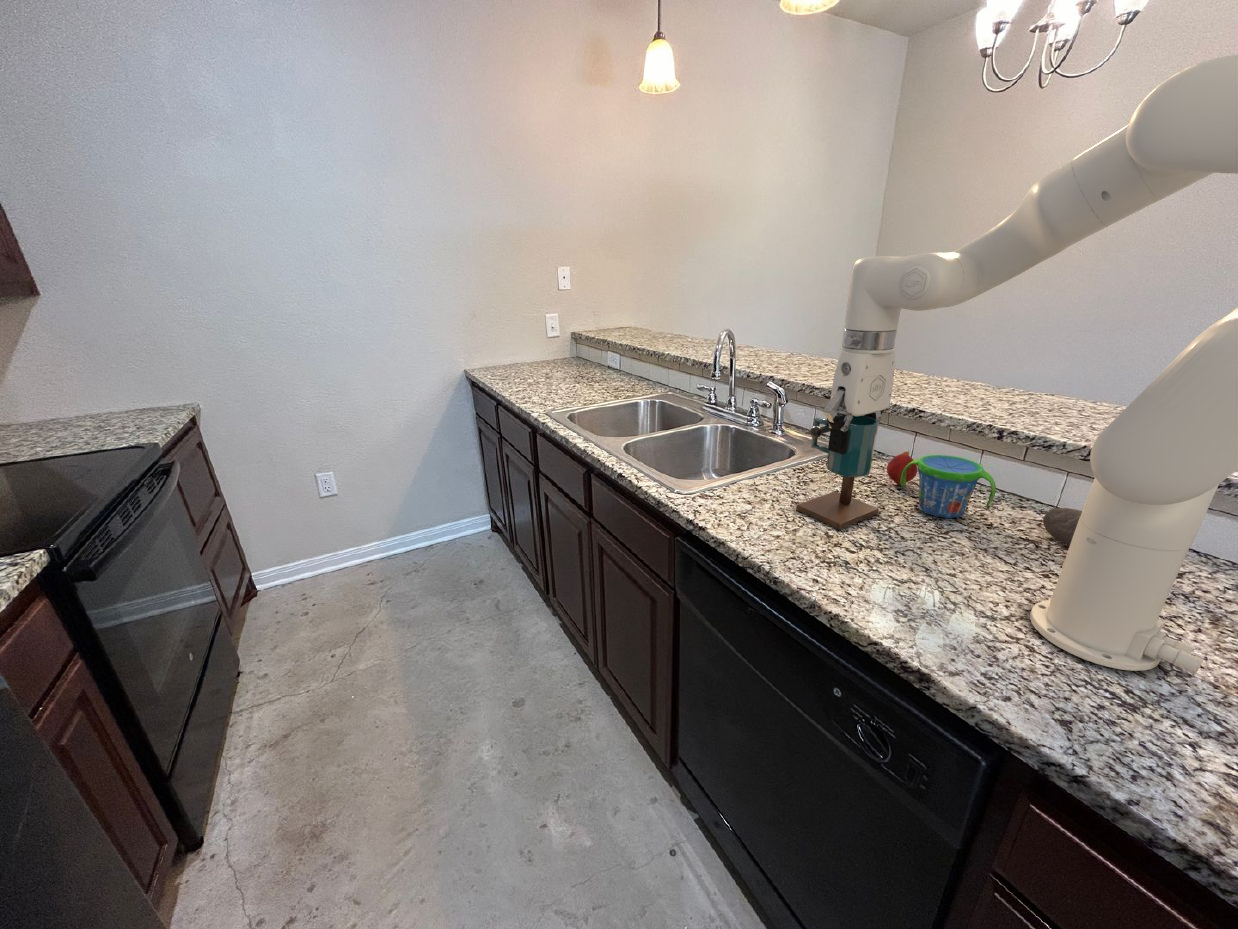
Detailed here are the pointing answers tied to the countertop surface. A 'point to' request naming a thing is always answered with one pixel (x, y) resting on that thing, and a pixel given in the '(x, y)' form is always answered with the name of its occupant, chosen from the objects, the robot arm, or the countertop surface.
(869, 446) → the mug
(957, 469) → the snack cup
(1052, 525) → the perforated stone tool
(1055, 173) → the robot arm
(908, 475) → the onion
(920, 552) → the countertop surface
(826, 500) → the mug rack
